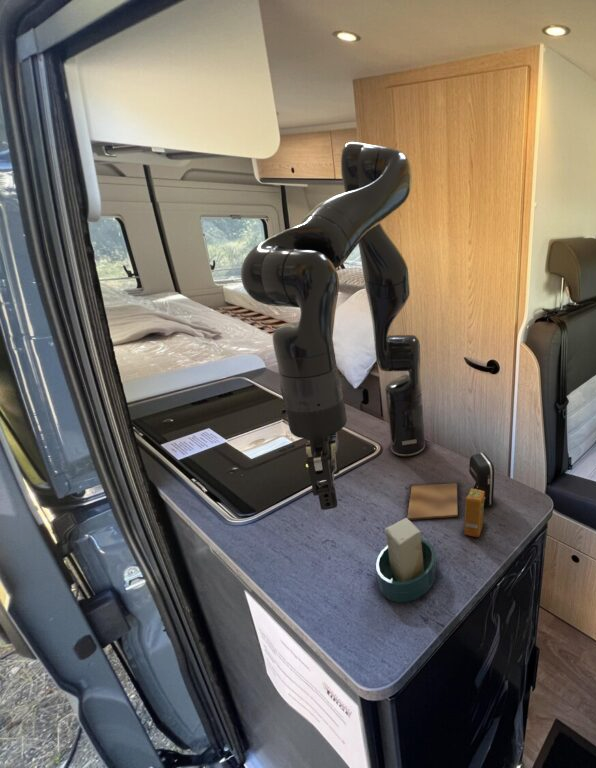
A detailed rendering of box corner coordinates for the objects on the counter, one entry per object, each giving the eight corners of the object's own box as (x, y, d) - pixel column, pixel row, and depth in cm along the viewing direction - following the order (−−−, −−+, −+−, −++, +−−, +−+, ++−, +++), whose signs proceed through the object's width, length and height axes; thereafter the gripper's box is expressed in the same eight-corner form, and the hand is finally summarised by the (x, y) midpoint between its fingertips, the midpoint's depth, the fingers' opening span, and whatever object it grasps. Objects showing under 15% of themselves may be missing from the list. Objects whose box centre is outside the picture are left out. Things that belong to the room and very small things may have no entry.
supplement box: (480, 538, 81) (480, 500, 77) (464, 535, 82) (464, 497, 78) (484, 526, 84) (484, 490, 80) (469, 523, 85) (468, 487, 81)
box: (425, 577, 72) (422, 532, 67) (404, 591, 69) (399, 545, 64) (410, 559, 75) (406, 516, 71) (389, 572, 72) (384, 527, 68)
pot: (383, 556, 76) (380, 539, 74) (436, 551, 78) (436, 535, 76) (373, 605, 67) (370, 587, 65) (434, 599, 68) (433, 581, 66)
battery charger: (467, 492, 94) (467, 452, 90) (481, 487, 96) (482, 449, 91) (479, 510, 89) (479, 469, 84) (494, 505, 90) (495, 465, 86)
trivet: (411, 487, 95) (411, 485, 95) (457, 485, 96) (457, 483, 96) (407, 520, 85) (407, 518, 85) (457, 516, 87) (457, 514, 86)
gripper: (341, 418, 50) (356, 515, 56) (344, 375, 62) (356, 459, 68) (275, 426, 47) (299, 526, 54) (291, 380, 59) (309, 467, 66)
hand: (331, 489), depth 61 cm, fingers open, 8 cm apart
